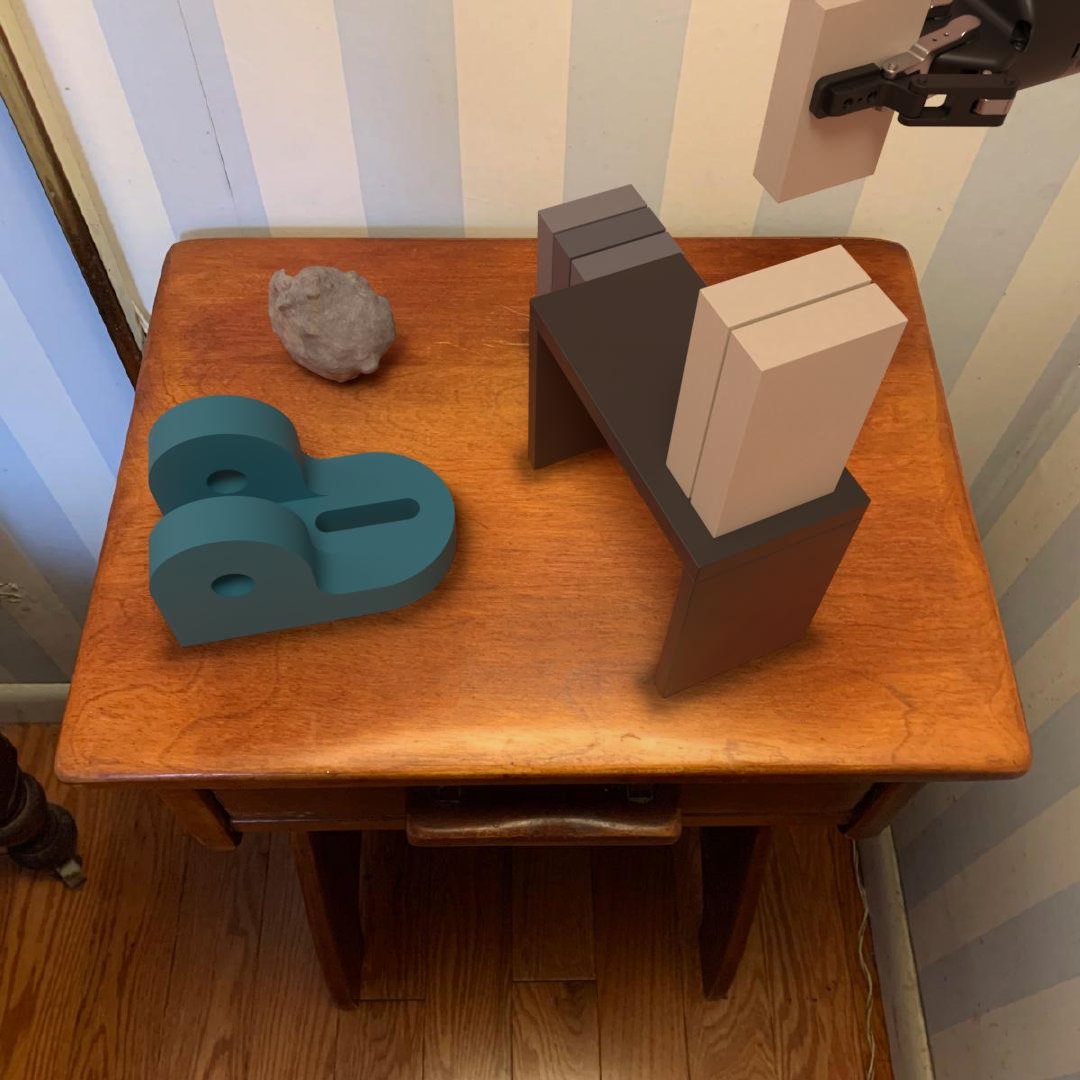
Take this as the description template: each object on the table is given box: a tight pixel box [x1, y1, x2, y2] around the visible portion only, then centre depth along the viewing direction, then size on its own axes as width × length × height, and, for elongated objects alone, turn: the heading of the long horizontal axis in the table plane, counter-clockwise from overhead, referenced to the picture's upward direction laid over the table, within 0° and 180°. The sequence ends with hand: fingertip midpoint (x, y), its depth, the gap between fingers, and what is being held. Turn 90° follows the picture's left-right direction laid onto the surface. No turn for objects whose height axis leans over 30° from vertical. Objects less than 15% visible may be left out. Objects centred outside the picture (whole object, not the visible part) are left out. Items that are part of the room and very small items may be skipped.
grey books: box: [535, 183, 686, 297], centre depth 72 cm, size 8×7×12 cm
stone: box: [267, 265, 397, 384], centre depth 72 cm, size 9×7×10 cm
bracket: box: [147, 394, 458, 648], centre depth 63 cm, size 18×10×10 cm, turn 102°
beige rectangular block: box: [752, 0, 931, 204], centre depth 59 cm, size 3×7×12 cm, turn 114°
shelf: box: [527, 252, 872, 699], centre depth 62 cm, size 20×10×15 cm, turn 24°
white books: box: [666, 244, 909, 538], centre depth 47 cm, size 5×7×12 cm
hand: (798, 81), depth 57 cm, fingers closed on beige rectangular block, 3 cm apart
